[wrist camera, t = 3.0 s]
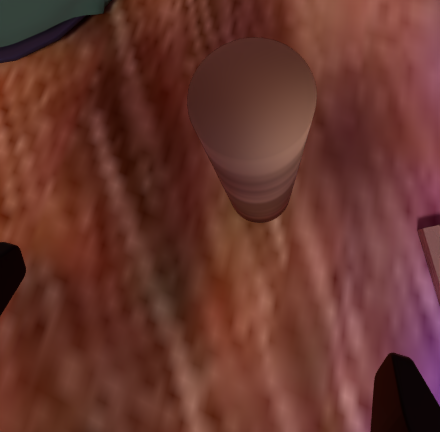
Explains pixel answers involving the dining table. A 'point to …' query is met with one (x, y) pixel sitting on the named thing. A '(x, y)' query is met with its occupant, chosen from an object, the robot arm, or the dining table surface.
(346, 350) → the dining table surface
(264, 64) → the wooden post
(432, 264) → the cup bracket
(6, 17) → the cutlery set
